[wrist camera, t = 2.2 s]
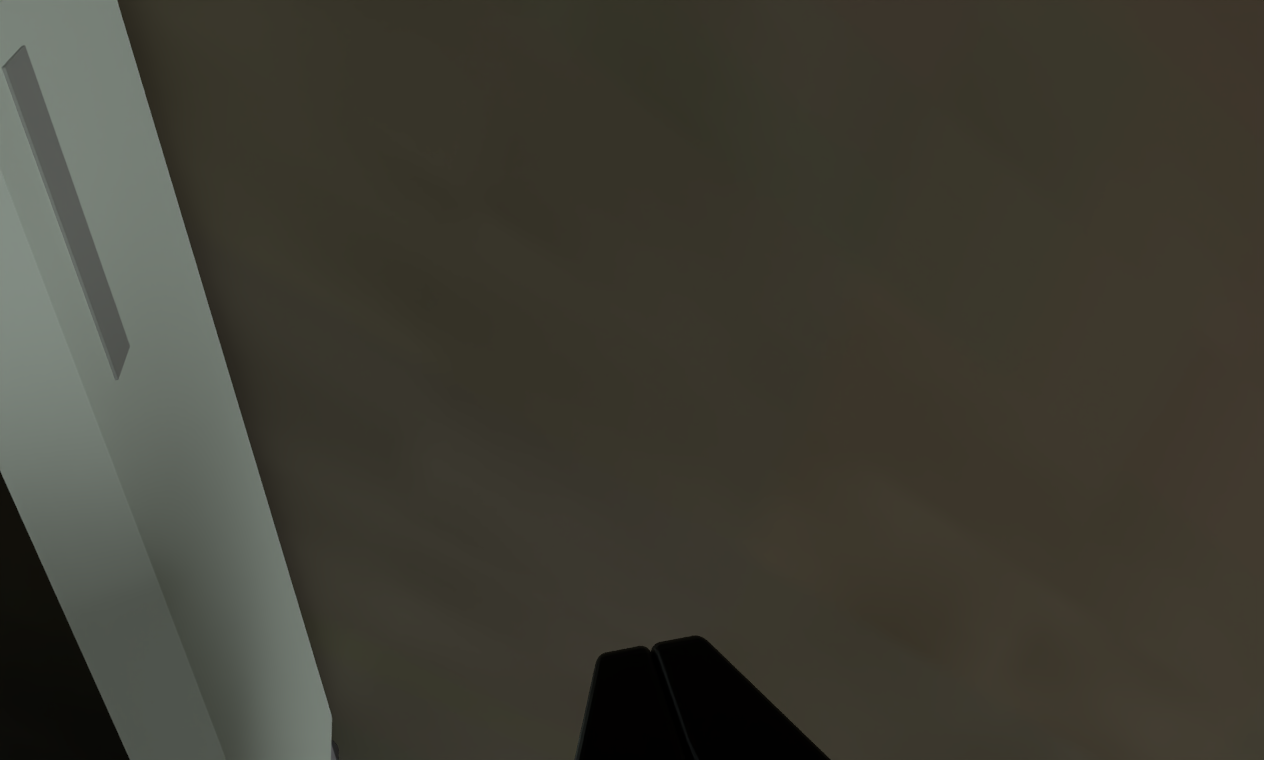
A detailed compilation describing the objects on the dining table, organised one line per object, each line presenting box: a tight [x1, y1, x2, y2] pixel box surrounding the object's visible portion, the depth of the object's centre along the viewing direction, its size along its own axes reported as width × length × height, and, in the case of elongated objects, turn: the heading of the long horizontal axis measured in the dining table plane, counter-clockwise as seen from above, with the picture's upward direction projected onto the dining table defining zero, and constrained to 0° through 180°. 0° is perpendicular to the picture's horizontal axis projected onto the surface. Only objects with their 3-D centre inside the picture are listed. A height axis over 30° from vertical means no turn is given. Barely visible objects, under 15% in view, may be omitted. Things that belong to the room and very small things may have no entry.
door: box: [0, 0, 339, 760], centre depth 15 cm, size 15×1×6 cm, turn 4°
